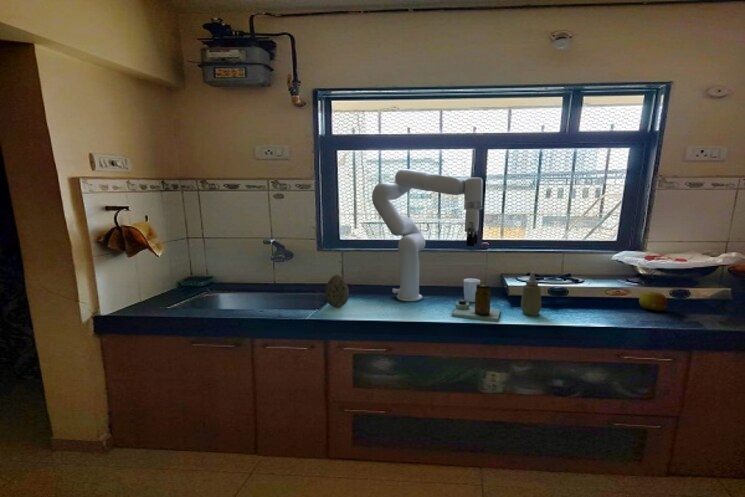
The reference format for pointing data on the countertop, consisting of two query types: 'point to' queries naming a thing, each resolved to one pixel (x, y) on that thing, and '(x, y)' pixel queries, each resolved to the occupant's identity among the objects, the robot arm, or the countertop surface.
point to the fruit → (653, 301)
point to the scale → (466, 313)
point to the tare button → (462, 302)
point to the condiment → (482, 301)
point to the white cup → (470, 289)
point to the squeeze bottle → (531, 297)
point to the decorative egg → (337, 292)
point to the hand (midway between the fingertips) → (472, 244)
